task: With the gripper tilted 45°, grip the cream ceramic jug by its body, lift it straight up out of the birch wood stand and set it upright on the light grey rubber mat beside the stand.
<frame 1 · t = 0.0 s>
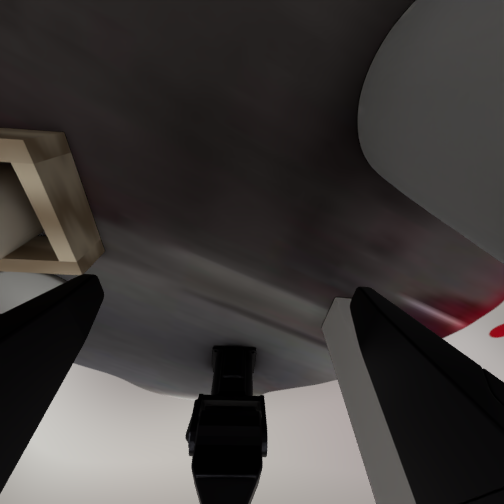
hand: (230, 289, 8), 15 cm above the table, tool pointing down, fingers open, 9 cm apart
utensil holder: (443, 97, 17), on the table
mat: (44, 302, 29), on the table
milk: (348, 313, 31), on the table
stand: (23, 196, 21), on the table
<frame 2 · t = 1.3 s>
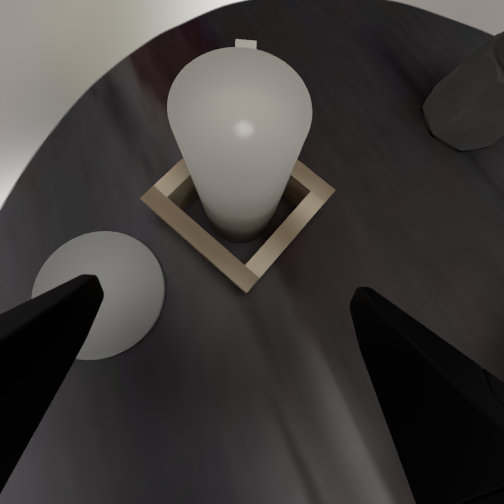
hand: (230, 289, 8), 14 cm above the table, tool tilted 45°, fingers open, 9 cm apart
coffeepot: (466, 120, 27), on the table
mat: (103, 292, 21), on the table
stand: (240, 211, 23), on the table
jug: (241, 160, 17), in the stand
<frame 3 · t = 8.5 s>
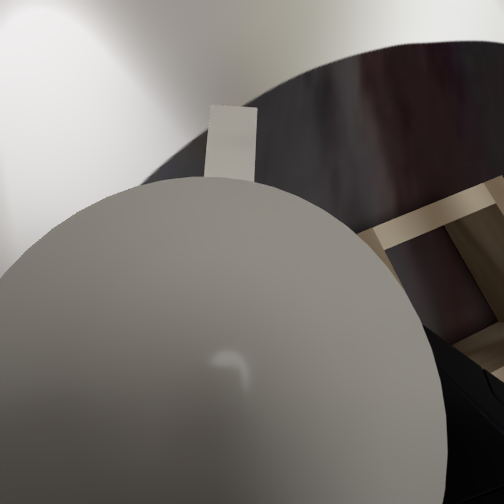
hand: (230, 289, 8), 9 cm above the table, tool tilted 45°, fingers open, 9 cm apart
stand: (424, 290, 18), on the table
jug: (230, 293, 10), on the mat, point 7 cm above the table
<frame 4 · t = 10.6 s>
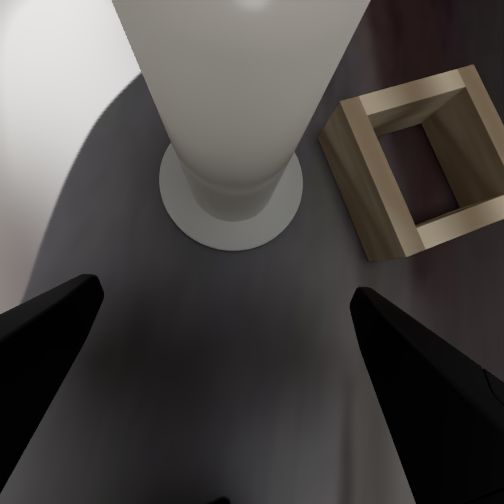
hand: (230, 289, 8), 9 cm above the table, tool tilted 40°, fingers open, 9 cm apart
mat: (232, 183, 19), on the table
stand: (400, 178, 20), on the table
jug: (237, 96, 11), on the mat, point 7 cm above the table
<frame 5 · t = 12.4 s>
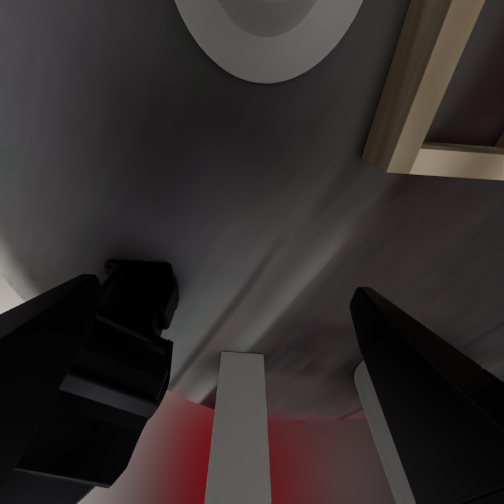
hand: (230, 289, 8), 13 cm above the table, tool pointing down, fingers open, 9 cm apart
utensil holder: (397, 367, 35), on the table
milk: (240, 362, 34), on the table
stand: (474, 72, 15), on the table
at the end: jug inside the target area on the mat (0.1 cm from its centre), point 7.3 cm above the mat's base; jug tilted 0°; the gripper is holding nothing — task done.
